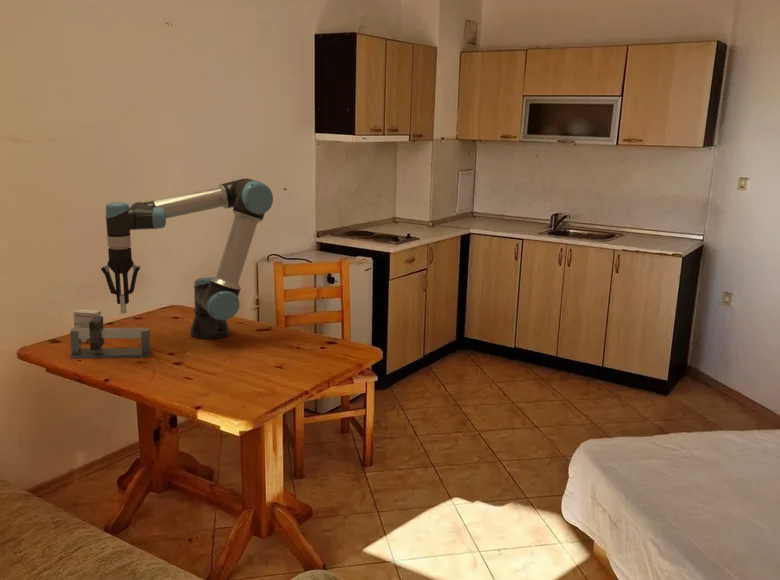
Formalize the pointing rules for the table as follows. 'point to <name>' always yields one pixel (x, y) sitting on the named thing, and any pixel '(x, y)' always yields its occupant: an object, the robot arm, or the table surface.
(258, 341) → the table surface
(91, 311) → the ink box
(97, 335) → the ring collar
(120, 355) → the pipe rail
